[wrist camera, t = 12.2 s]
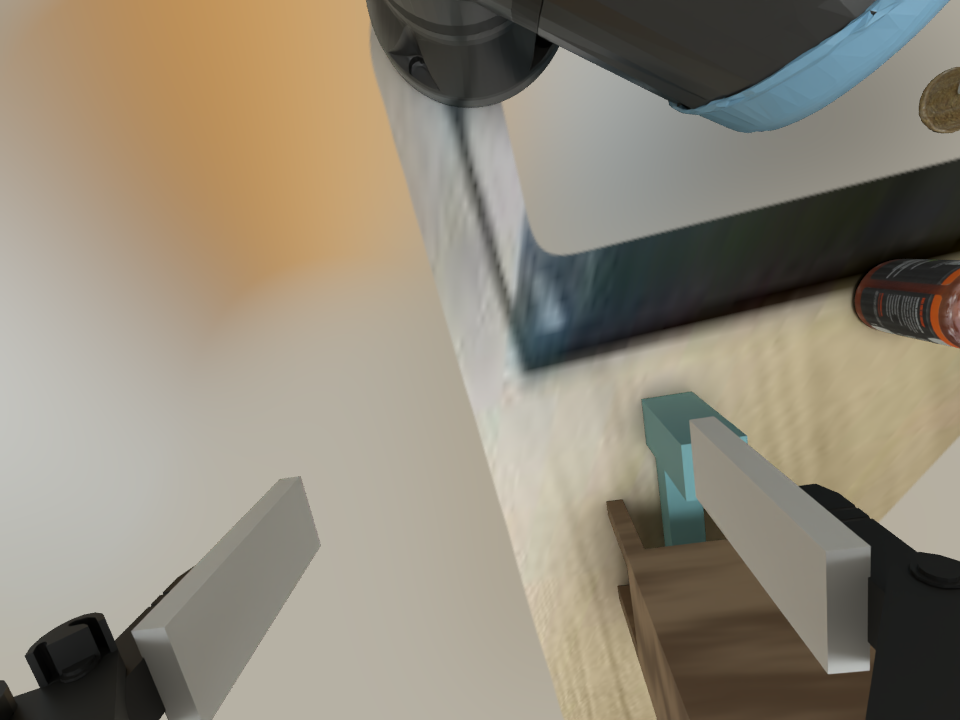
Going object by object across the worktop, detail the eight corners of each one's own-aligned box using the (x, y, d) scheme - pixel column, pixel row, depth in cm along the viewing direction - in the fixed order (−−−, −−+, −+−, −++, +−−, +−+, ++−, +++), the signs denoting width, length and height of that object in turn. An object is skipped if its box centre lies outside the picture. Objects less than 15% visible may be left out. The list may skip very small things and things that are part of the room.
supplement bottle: (876, 344, 40) (1015, 382, 29) (835, 292, 39) (963, 311, 28) (941, 297, 39) (1113, 317, 28) (901, 242, 38) (1061, 241, 27)
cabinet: (606, 501, 45) (695, 734, 23) (747, 483, 43) (978, 712, 22) (621, 613, 48) (713, 913, 26) (754, 599, 46) (965, 902, 25)
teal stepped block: (632, 400, 42) (669, 446, 33) (700, 390, 42) (759, 434, 32) (657, 613, 47) (695, 708, 38) (718, 607, 47) (773, 701, 37)
